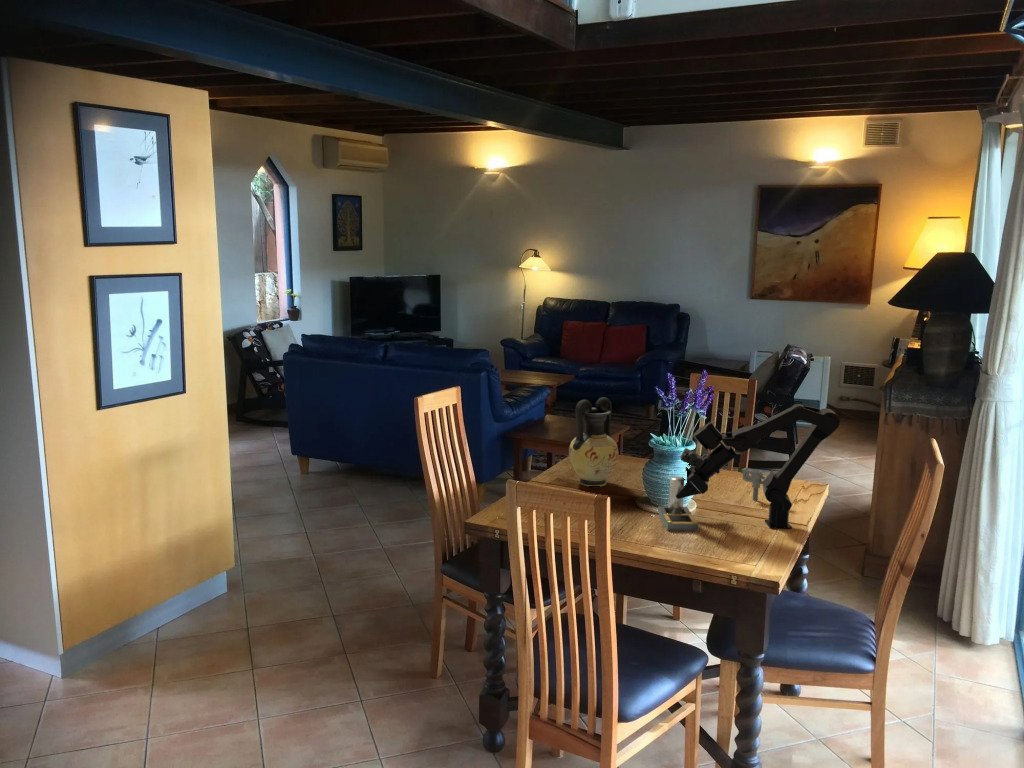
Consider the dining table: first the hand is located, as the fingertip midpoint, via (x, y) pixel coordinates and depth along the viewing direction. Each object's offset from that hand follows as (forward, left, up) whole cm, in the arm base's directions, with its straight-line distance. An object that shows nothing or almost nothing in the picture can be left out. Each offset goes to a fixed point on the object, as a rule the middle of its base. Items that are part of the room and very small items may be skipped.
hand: (676, 493), depth 256 cm
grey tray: (-4, 0, -8) cm, 9 cm away
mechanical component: (+18, -30, -8) cm, 36 cm away
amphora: (+34, +22, -8) cm, 42 cm away
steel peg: (0, 0, -8) cm, 8 cm away
